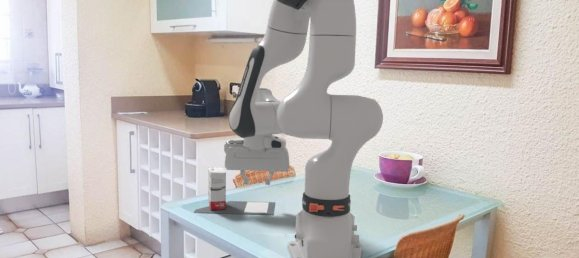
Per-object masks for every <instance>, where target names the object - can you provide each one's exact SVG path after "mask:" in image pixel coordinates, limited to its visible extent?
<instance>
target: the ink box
mask: <svg viewBox="0 0 579 258" xmlns="http://www.w3.org/2000/svg"><path fill="white" fill-rule="evenodd" d="M207 169H208V170H207V171H208V179H207V181H208V186H207V188H208V189H207V190H208V191H207V192H208V196H207V199H208V202H207V203H208V206H210V209H211V210H221V209H226V202H227V201H226V200H227V198H226V197H227V194H226V193H227V192H226V191H227V189H226V188H227V187H226V186H227V172H226V170H225V169H224V167H219V166H218V167H215V166H211V167H208V168H207Z"/></svg>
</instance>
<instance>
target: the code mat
mask: <svg viewBox="0 0 579 258" xmlns="http://www.w3.org/2000/svg"><path fill="white" fill-rule="evenodd" d="M275 204H276V202H275V201H273V202H272V201H246V200H245V201H241V200H228V201H226V209H221V210H211V209H210V206H209V205H208V206H205V207H201V208H196V209H195V210H194V211H193V213H195V214H220V215H221V214H223V215H224V214H225V215H226V214H228V215H254V216H255V215H256V216H257V215H261V216H273V215H274V212H275V211H274V210H275V206H276V205H275Z"/></svg>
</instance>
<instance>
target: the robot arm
mask: <svg viewBox="0 0 579 258" xmlns="http://www.w3.org/2000/svg"><path fill="white" fill-rule="evenodd" d="M272 1H273V2H272V3H271V8H270V11H269V15H268V19H267V26H266V30H265V33H264V35H263V38H262V40H261V41H260V42H259V44H257V45H256V46H254V47H253V48H252V50H251V52H250V55H249V57H248V60H247V63H246V65H245V69H244V73H243V74H242V78H241V82H240V85H239V89H238V91H237V95H236V98H235V100H234V103H233V104H232V107H231V109H230V110H229V114H228V126H229V127H230V129H231V131H232V132H233V133H234V134H236V136H238V137H240V138H242V139H238V140H235V139H230V140H228V141H226V142H225V143H224V145H223V146H224V147H223V150H224V153H225V157H224V168H225V169H226V170H227V171H239V173H240V174H239V175H241V177H242V179H243V185H249V184H250V178H249V177H247V176H246V171H249V172H250V171H252V172H253V171H258V172H261V171H262V172H268V175H269V176H268V177H267V178H265V181H264V182H265V183H264V184H265V185H266V186H270V185H271V179H273V176H274V173H275V172H288V171H289V170H290V155H289V150H288V148H287V140H286V139H285V138H283V137H279V136H277V135H278V134H280V135H281V134H284V135H285V136H290V137H293V138H298V139H303V140H304V139H305V140H307V139H310V140H311V139H313V140H329V141H331V144H330V145H329V147H328V148H327V149H325V150H324V151H321V152H318V153H316V154H315V155H313V156H311V157H310V158H309V159H308V160H307V162H306V164H305V166H304V167H305V169H304V191H303V192H302V197H301V202H302V204H301V205H302V206H301V211H300V212H297V214H296V216H295V232H294V240H291V241H288V242H287V246H286V247H287V249H288V252H289V253H290V256H291V258H362V252H363V251H362V250H363V248H362V247H363V246H362V244H361V243H360V235H359V234H355V232H357V231H358V225H356V224H355V216H354V214H353V213H351V206H352V205H351V203H352V200H351V195H350V194H349V193H350V180H351V172H352V167H353V163H354V161H355V158H356V156H357V155H358V153H359V151H360V150H361V149H362V147H363V146H364V145H365V144H366V143H367V142H369V141H370V140H371V139H373V138H375V136H377V135H378V133H380V130H381V128H382V125H383V123H384V122H383V120H384V114H383V113H384V112H383V109H382V108H381V106H380V104H379V102H378V101H377V100H376V99H374V98H370V97H366V96H361V95H354V94H330V93H328V89H329V88H330V86H331V85H332V84H333V83H336V82H337V81H340V80H342V79H345V78H346V77H348V76H349V75H350V74H351V73H352V72H353V71H354V68H355V65H356V45H357V43H356V41H357V16H356V15H357V14H356V7H355V1H354V0H272ZM308 30H309V31H308ZM308 32H309V37H308V38H309V40H308V41H309V42H308V57H307V64H306V68H305V72H304V75H303V77H302V79H301V81H300V82H299V84H298V85H297V86H296V87H295V89H294V90H293V91H292V92H291V93H289V94H287V95H286V96H285V97H284V98H283V99H282V100H279V99H277V98H276V97H275V96H274V95H273V92H272V91H271V90H270V88H269V89H268V88H263V87H262V88H261V85H262V80H263V78H264V77H265V76H266V74H268V73H269V72H270V71H271V70H274V69H276V68H277V67H279V66H282V65H285V64H288V63H290V62H292V61H294V60H295V59H297V58H298V57H299V56H300V55H301V54H302V53H303V51H304V49H305V46H306V42H307V36H308Z"/></svg>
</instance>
